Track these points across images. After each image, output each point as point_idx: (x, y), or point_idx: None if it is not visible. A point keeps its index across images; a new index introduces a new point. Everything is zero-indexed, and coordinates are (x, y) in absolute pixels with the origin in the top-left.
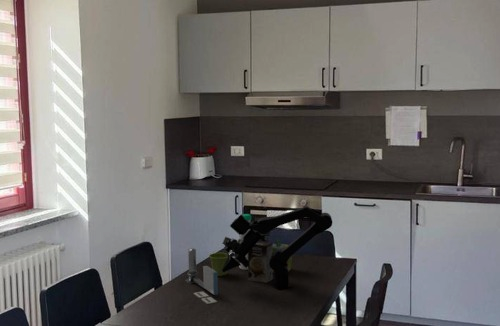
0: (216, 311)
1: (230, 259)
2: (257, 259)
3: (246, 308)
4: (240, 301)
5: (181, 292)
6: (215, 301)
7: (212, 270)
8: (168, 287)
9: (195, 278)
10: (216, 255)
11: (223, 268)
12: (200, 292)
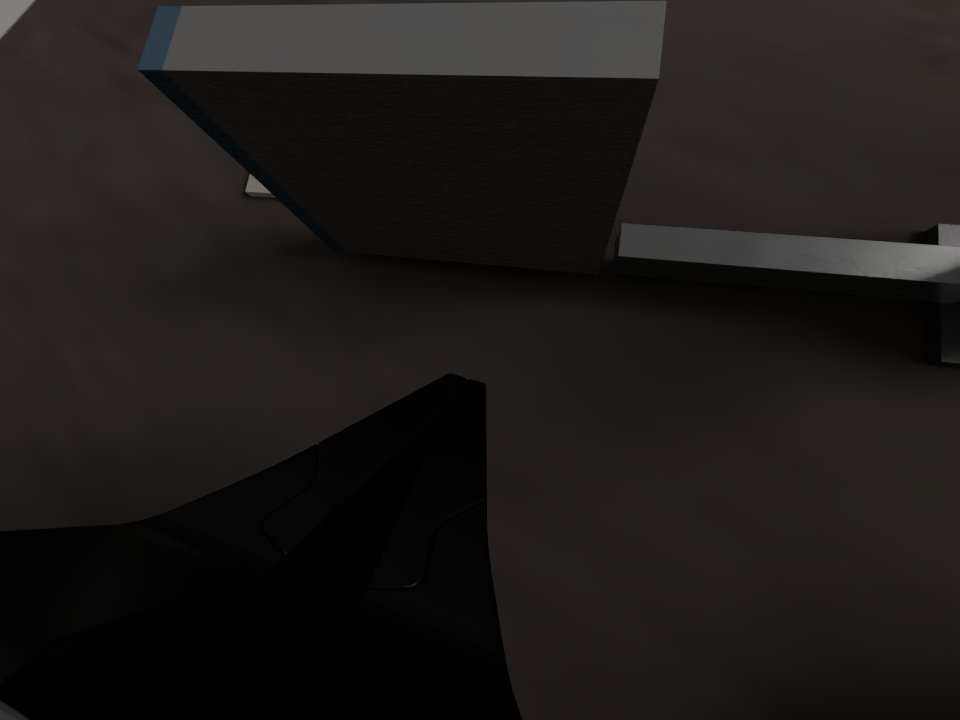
0: (113, 112)
1: (76, 532)
2: None
3: (4, 312)
4: (139, 364)
5: (675, 61)
6: (249, 181)
7: (275, 40)
8: (912, 12)
9: (927, 249)
10: None
11: (419, 391)
12: None
